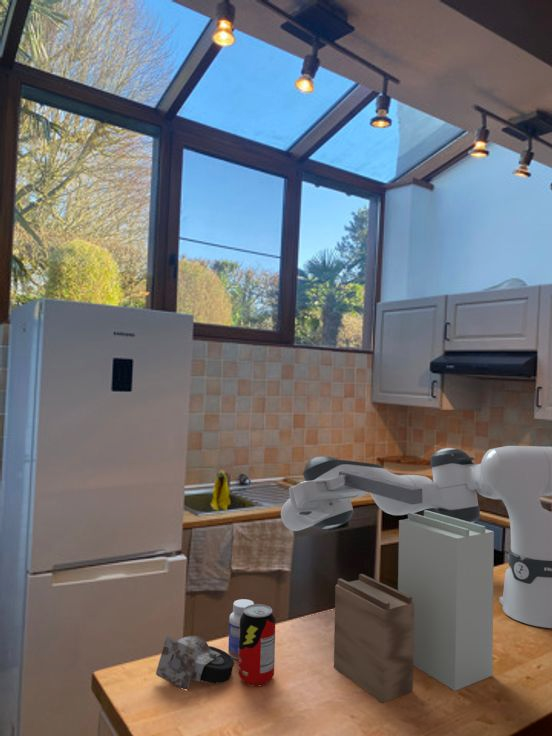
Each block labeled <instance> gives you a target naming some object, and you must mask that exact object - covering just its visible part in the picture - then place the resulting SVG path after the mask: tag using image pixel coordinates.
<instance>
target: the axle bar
mask: <svg viewBox="0 0 552 736" xmlns="http://www.w3.org/2000/svg"><path fill="white" fill-rule="evenodd" d="M340 475H347V478H348V483H346V484H345V486H348V487H352V488H355V489H359V490H362V491H366V492H369V493H368V494H370V493H373V494H376V495H380V496H383V497H387V498H390V499H394V500H397V501H401V502H404V503H408V504H411V505H412V504H420V503H422V488H418V487H414V486H410V485H405V484H401V483H397V482H393V481H389V480H385V479H381V478H377V477H373V476H369V475H364V474H360V473H356V472H352V471H339V476H340Z"/></svg>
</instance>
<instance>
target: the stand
mask: <svg viewBox="0 0 552 736" xmlns="http://www.w3.org/2000/svg"><path fill="white" fill-rule="evenodd" d="M494 539H495V533H494V531H493V530H490V529H487V528H486V526H485V525H481V524H478V523H475V522H473V523H471V522H468V521H464V520H460V519H457V518H453V517H449V516H446V515H442V514H438V512H436V511H435V512H434V511H431V510H428V509H424V510H423V515H421V514H418V513H416V512H415V513H408V514H407V518H405V519H400V520H398V562H397V563H398V564H397V567H398V568H397V569H398V571H397V572H398V573H397V574H398V576H397V590H398V591H400V592H402V593H404V594H406V595H409V596H411V597H412V602H414V652H413V667H415V668H417V669H418V670H420V671H422V672H423V673H425V674H427V675H428V676H430V677H431V678H433V679H435V680H437V681H439V683H442V684H443V685H444V686H446V687H448V688H450V689H451V690H453V691H454V692H455V691H459V690H461V689H463V688H466V687H468V686H470V685H473V684H475V683H478V682H481V681H482V680H485V679H487V678H488V679H489V678H490V677H492V676H493V658H494V657H493V655H494V654H493V648H494V647H493V645H494V644H493V643H494V641H493V640H494V639H493V638H494V637H493V636H494V565H495V563H494V556H495V555H494V550H495V548H494V546H495V540H494Z"/></svg>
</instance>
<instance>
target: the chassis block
mask: <svg viewBox="0 0 552 736" xmlns="http://www.w3.org/2000/svg"><path fill="white" fill-rule="evenodd" d="M333 636H334V639H333V641H334V642H333V647H334V648H333V668H334V669H336V671H339V672H340V673H341V674H343V675H344V676H345V677H347V678H348V679H350V681H352V682H353V683H355V684H356V685H357V686H358V687H360V688H362V689H363V690H365V692H366V693H368V694H369V695H371V696H372V697H374V698H375V699H377V700H378V701H379V702H380V703H382V704H383V703H386V702H389V701H391V700H393V699H396V698H399V697H401V696H404V695H407V694H409V693H412V692H414V665H413V652H414V602H412V597H411V596H409V595H406V594H404V593H402V592H400V591H398V589H395V588H393V587H392V586H389V585H387V584H385V583H383V582H380V581H379V580H376V579H374V578H372V577H370V576H368V575H366V574H363V573H360V574H359V575H358V579H355V580H351V581H347V580H345V579H344V578H337V584H335V587H334V635H333Z"/></svg>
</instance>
